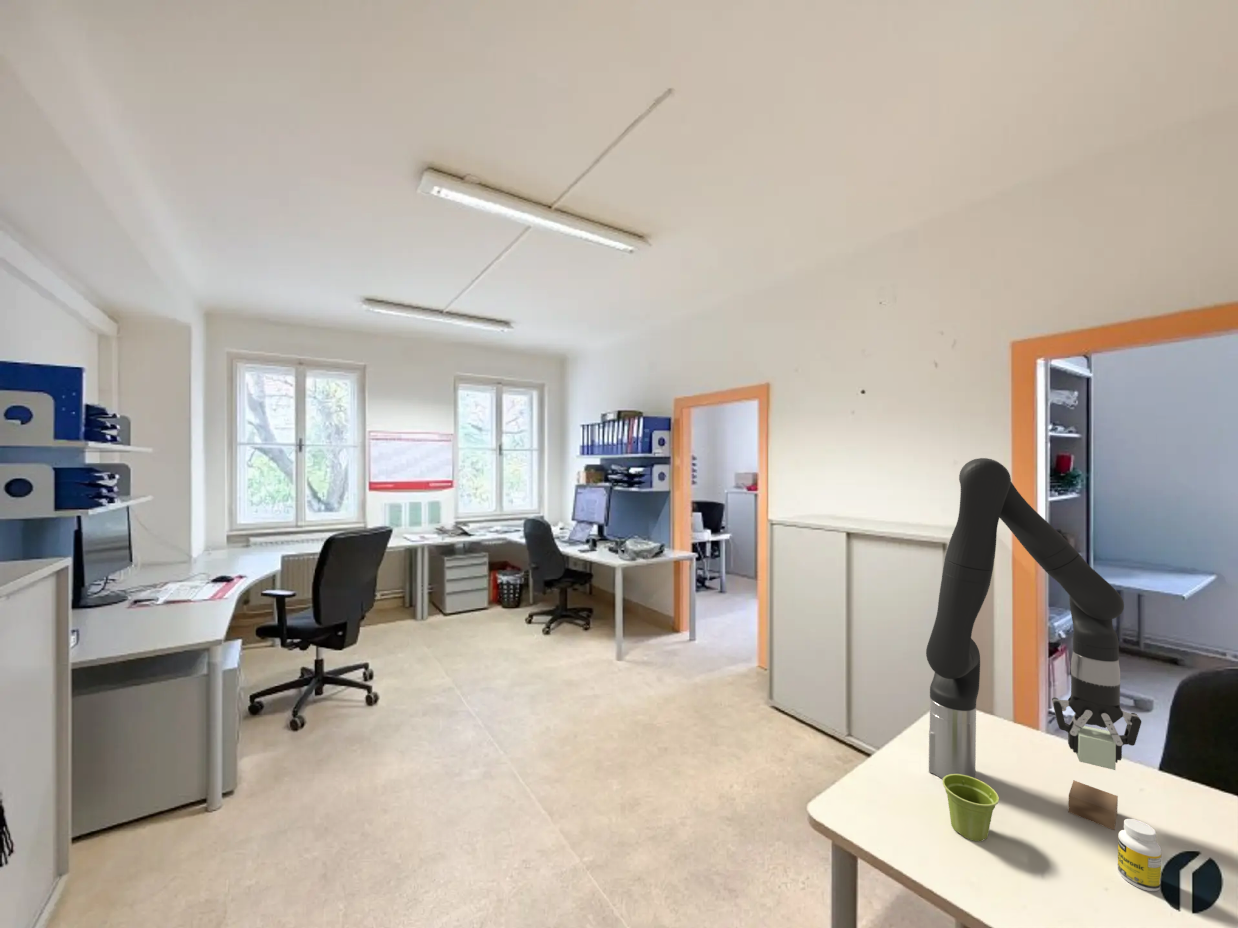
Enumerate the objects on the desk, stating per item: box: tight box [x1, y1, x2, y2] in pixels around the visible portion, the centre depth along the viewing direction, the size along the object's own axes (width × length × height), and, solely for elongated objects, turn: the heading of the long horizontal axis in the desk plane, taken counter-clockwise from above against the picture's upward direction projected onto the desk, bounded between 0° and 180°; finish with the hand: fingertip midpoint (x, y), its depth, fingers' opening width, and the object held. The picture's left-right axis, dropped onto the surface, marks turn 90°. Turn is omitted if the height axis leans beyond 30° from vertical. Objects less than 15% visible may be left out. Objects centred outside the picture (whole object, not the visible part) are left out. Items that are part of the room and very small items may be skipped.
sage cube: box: [1075, 725, 1117, 771], centre depth 107 cm, size 6×6×6 cm
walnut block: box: [1067, 780, 1119, 831], centre depth 108 cm, size 7×7×4 cm
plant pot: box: [941, 774, 1000, 842], centre depth 103 cm, size 9×9×9 cm
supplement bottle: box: [1117, 818, 1162, 892], centre depth 91 cm, size 5×5×10 cm
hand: (1094, 755), depth 107 cm, fingers closed on sage cube, 5 cm apart
